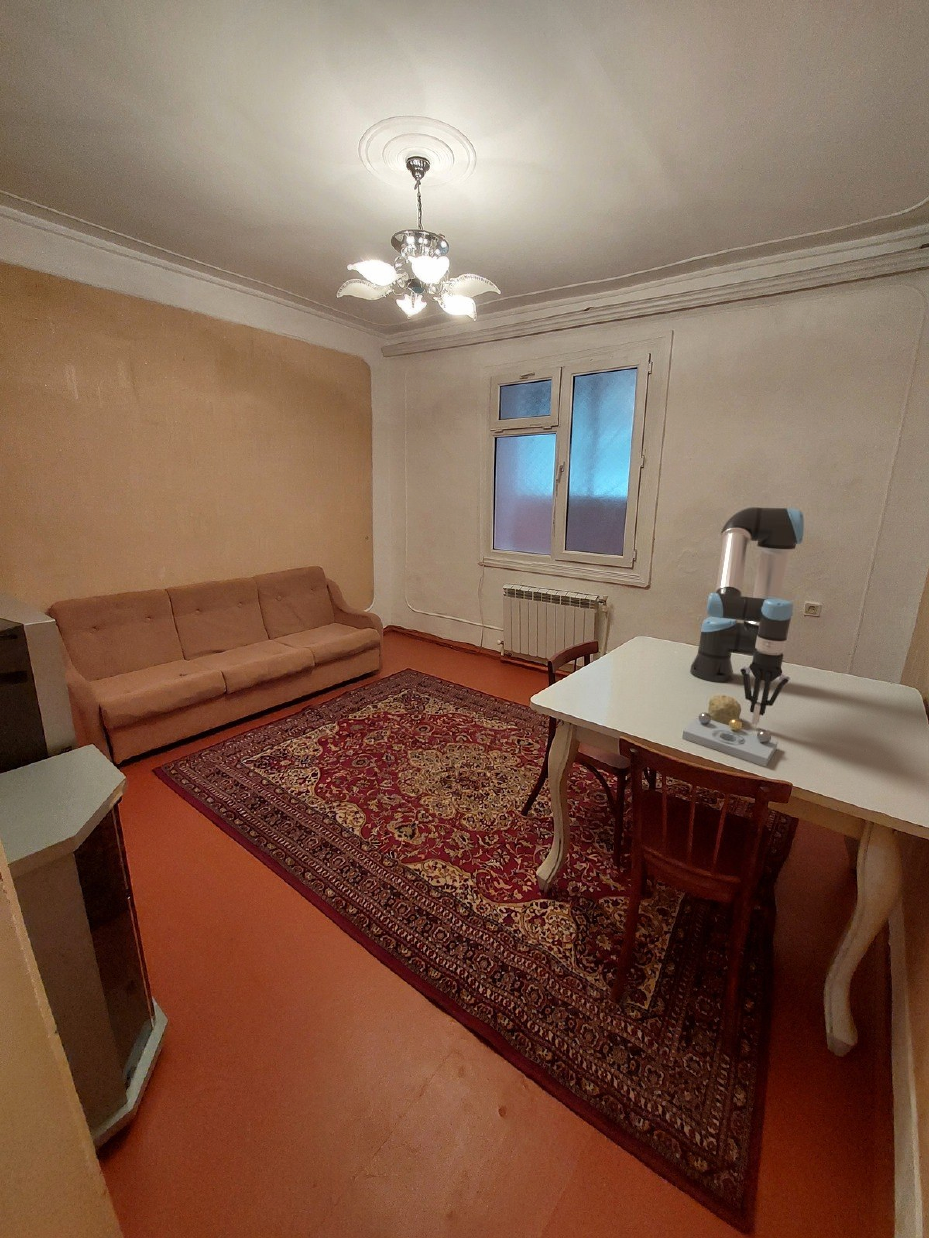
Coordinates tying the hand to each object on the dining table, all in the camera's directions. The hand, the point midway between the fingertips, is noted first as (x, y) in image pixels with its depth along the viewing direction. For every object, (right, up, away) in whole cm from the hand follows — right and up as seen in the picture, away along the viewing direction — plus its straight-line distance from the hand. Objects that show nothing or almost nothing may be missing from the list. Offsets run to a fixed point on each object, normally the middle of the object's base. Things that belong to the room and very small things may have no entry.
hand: (755, 722), depth 156 cm
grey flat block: (-13, -4, -9) cm, 16 cm away
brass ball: (-10, +1, -7) cm, 12 cm away
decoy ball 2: (-5, -1, -13) cm, 14 cm away
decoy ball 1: (-17, +2, -3) cm, 17 cm away
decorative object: (-7, 0, +6) cm, 9 cm away
